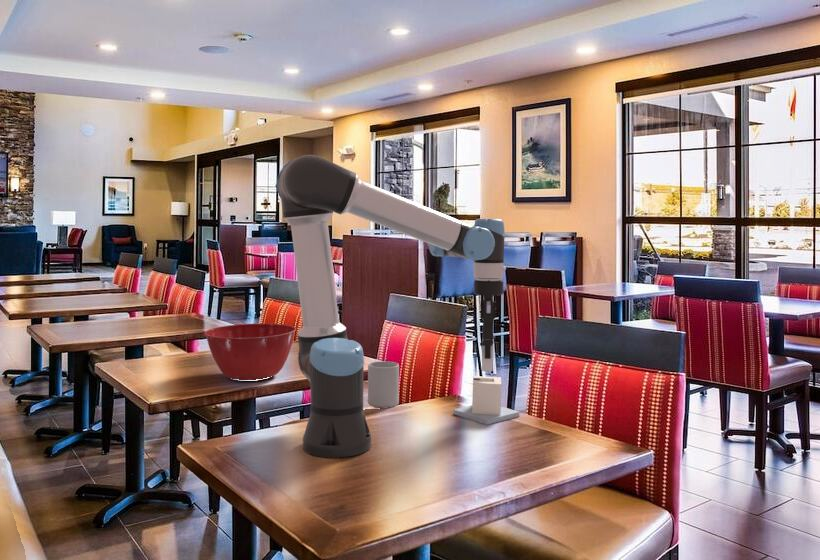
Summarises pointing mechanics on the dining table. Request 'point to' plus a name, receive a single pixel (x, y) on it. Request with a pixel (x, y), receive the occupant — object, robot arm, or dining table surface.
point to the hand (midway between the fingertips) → (487, 367)
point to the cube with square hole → (486, 395)
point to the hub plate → (486, 415)
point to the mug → (383, 384)
